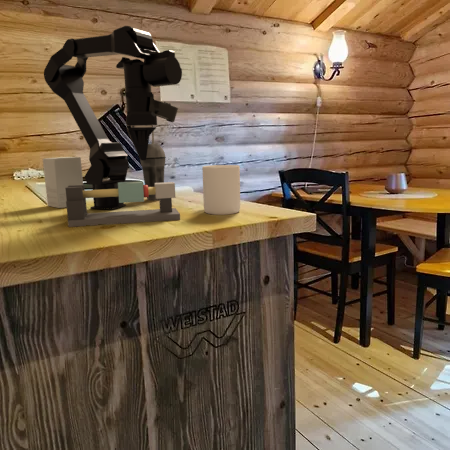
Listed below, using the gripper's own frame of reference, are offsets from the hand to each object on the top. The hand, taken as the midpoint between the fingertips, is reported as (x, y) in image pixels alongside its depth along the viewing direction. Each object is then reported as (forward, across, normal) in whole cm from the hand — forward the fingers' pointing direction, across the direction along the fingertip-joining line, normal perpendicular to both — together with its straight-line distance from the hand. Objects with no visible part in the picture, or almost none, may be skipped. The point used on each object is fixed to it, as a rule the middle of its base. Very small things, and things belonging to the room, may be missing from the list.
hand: (142, 159), depth 97 cm
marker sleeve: (+8, -10, +3) cm, 13 cm away
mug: (+12, -6, -16) cm, 21 cm away
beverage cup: (+12, +20, -3) cm, 24 cm away
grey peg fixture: (+12, -10, +5) cm, 16 cm away
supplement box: (+12, +17, +20) cm, 29 cm away
